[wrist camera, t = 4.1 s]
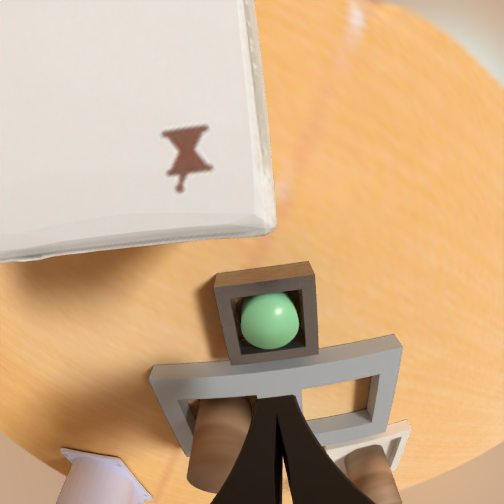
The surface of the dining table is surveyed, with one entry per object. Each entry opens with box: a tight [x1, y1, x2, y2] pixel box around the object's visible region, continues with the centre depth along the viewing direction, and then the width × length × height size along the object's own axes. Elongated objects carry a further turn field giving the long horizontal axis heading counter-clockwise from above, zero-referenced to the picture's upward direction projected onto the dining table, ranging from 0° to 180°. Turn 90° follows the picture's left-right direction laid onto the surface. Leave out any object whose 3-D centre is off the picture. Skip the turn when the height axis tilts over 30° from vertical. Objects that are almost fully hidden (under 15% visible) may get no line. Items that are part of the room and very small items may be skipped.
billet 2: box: [344, 444, 402, 504], centre depth 20 cm, size 4×4×6 cm
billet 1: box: [187, 396, 252, 493], centre depth 17 cm, size 4×4×6 cm
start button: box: [241, 291, 299, 349], centre depth 17 cm, size 3×3×2 cm
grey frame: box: [149, 334, 403, 457], centre depth 20 cm, size 9×16×2 cm, turn 98°
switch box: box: [213, 261, 319, 366], centre depth 17 cm, size 5×5×2 cm
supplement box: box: [0, 0, 277, 263], centre depth 8 cm, size 7×7×13 cm
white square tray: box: [324, 420, 412, 478], centre depth 23 cm, size 8×8×1 cm
